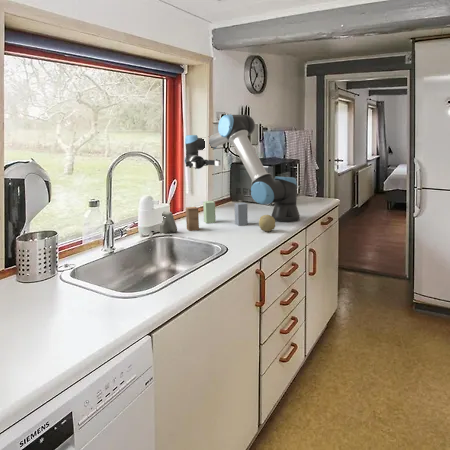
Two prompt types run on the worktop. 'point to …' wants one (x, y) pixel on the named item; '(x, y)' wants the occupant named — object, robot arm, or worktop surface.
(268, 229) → the potato
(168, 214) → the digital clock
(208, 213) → the sage green block
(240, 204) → the slate grey block
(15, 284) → the worktop surface
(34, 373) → the worktop surface
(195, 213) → the walnut block
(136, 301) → the worktop surface
